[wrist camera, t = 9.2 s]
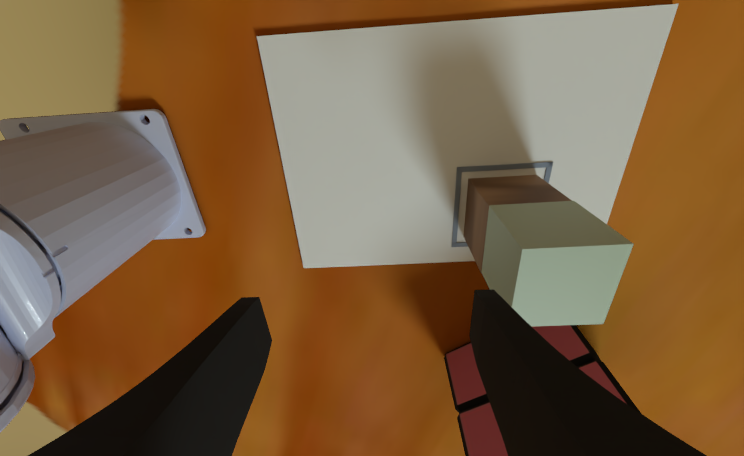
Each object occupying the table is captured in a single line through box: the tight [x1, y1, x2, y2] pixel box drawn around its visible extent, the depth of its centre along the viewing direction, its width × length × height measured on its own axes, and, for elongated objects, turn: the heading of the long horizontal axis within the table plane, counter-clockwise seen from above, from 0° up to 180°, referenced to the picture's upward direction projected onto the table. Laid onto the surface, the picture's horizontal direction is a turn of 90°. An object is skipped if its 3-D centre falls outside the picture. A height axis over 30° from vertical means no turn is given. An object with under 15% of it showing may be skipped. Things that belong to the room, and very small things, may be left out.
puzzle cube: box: [444, 325, 640, 456], centre depth 22 cm, size 10×10×10 cm
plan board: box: [257, 4, 678, 268], centre depth 18 cm, size 20×14×1 cm
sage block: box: [482, 201, 633, 327], centre depth 14 cm, size 4×4×4 cm
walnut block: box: [463, 175, 572, 273], centre depth 18 cm, size 4×4×4 cm
